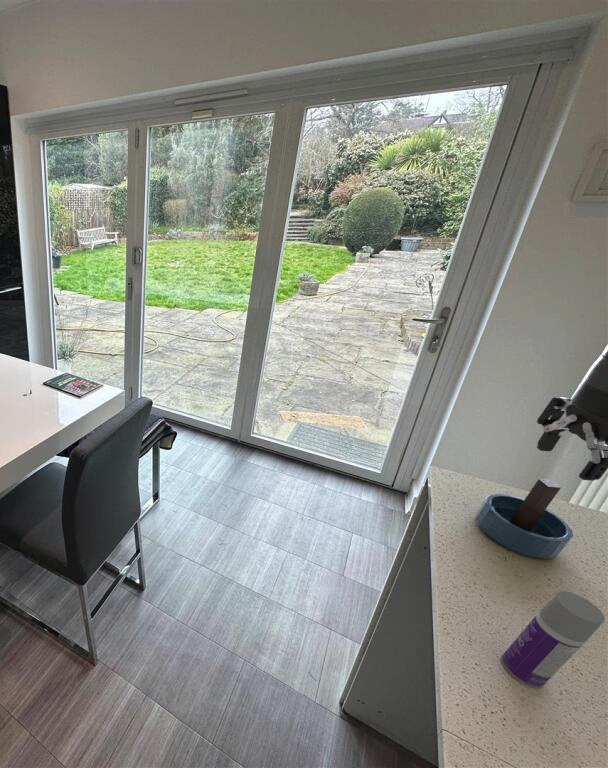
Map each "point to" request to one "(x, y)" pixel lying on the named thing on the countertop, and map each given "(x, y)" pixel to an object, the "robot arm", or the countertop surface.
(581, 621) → the container
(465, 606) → the countertop surface
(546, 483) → the stirring stick
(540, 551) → the bowl
